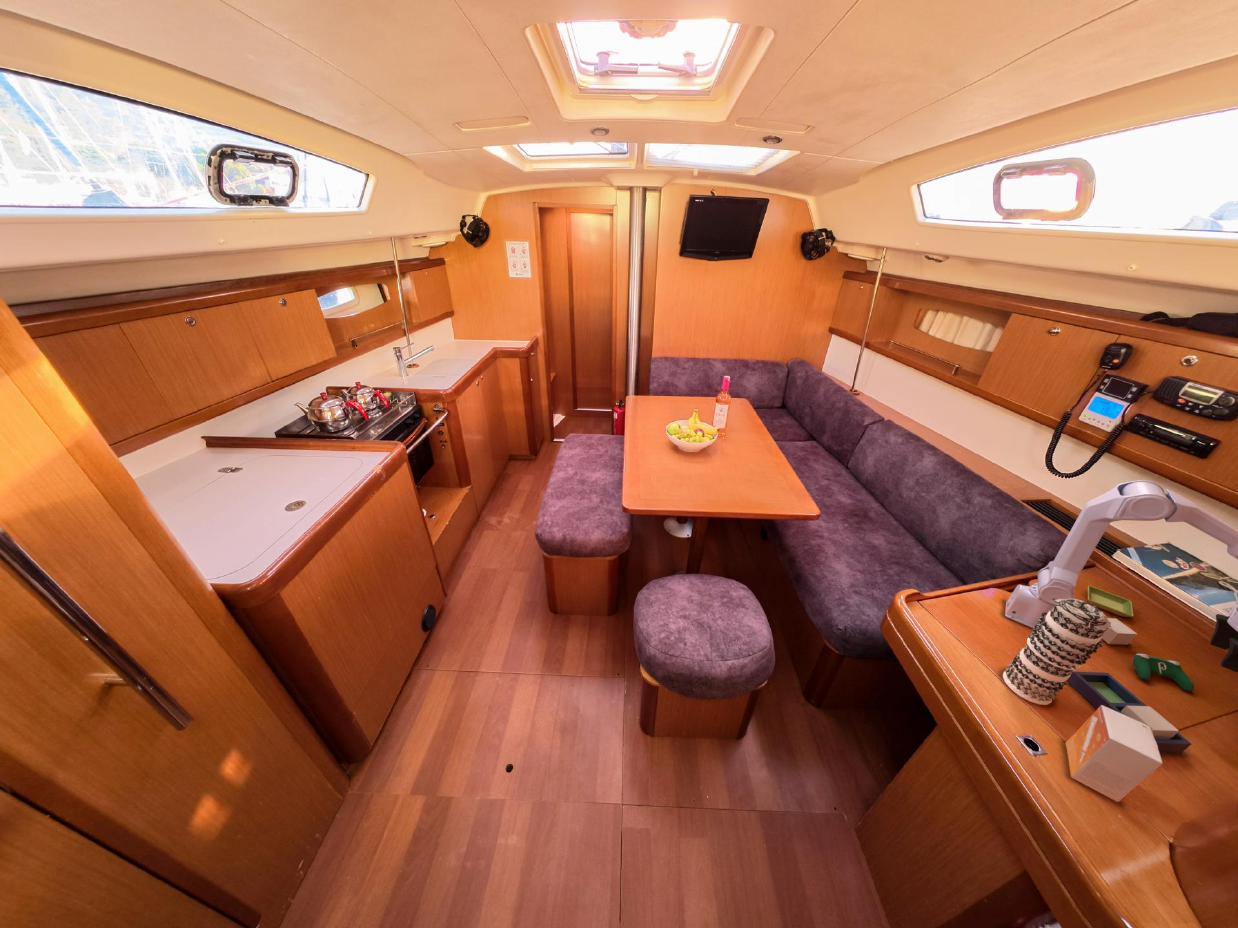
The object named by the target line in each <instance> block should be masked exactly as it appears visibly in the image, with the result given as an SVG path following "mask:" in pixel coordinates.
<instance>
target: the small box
mask: <svg viewBox="0 0 1238 928" xmlns="http://www.w3.org/2000/svg"><path fill="white" fill-rule="evenodd" d="M1065 747H1066V752H1067V759H1068V766H1069V773H1070V778H1071V779H1073V780H1075V781H1077V782H1078V783H1081V784H1083V785H1084V786H1086V787H1088V788H1090V789H1092V790H1094V791H1096V792H1098V793H1099V794H1101V795H1102V796H1105V797H1107V798H1109V799H1110V800H1113V801H1114V802H1117V803H1119V802H1120V801H1122V800H1123V799H1124V798H1125V797H1126V796H1127V795H1128V794H1130V793H1131V792H1132V791H1134V789H1135V788H1137V787H1138V786H1139V785H1140V784H1141V783H1143V782H1144V781H1145V780H1146V779H1147V778H1148V777H1149V776H1150V775H1151V774H1153V773H1154V772H1155V771H1156V770H1157V769H1158V768H1159V767H1161V766H1162V765H1163V764H1164V762H1163V759H1162V756H1161V752H1159V750H1158V746H1157V743H1156V741H1155V739H1154V736H1153V733H1152V731H1151V728H1150V726H1147V725H1145V724H1143V723H1141V722H1139V721H1137V720H1135V719H1132V718H1130V717H1128V716H1126V715H1123V714H1121V713H1119V712H1116V711H1114V710H1112V709H1110V708H1107V707H1105V706H1103V705H1100V707H1099V708H1098V709H1096V710H1094V712H1093V713H1092V714H1091V715H1090V716H1089V717H1088V718H1087V719H1086V720H1085V722H1084V723H1083V724H1082V725H1081V726H1080V727H1079V728H1078V729H1076V731H1075V732H1074V733H1073V734H1072V735H1071V736H1070V737H1069V738H1068V739H1067V741H1066V742H1065Z"/></svg>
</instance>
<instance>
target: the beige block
mask: <svg viewBox="0 0 1238 928" xmlns="http://www.w3.org/2000/svg"><path fill="white" fill-rule="evenodd" d="M1121 713H1123V714H1124V715H1126V716H1128V717H1130V718H1132V719H1135V720H1137V721H1139V722H1141V723H1143V724H1145V725H1147V726H1150V728H1151V731H1152V733H1153V736H1154V739H1171V738H1172V737H1173V736H1174V735H1175V734H1177V733H1180V730H1179V729H1177V727H1175V726H1174V725H1173V724H1172V723H1171V722H1170V721H1168V720H1167V719H1166V718H1165V717H1164V716H1162V715H1161V714H1160V713H1159V712H1158V711H1156V710H1155V709H1154V708H1153V707H1151V706H1149V705H1147V706H1126V707H1125V708H1124V709H1123V710H1122V711H1121Z"/></svg>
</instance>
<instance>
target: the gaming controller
mask: <svg viewBox="0 0 1238 928" xmlns="http://www.w3.org/2000/svg"><path fill="white" fill-rule="evenodd" d="M1132 663H1133V667H1134V669H1135V671H1136V673H1137V674H1138V676H1139V677H1140V679H1141V680H1143V681H1149V680H1150V678H1151V674H1153V675H1154V674H1155V675H1158V676H1162V677H1166V678H1171V679H1172V680H1174V682H1175V683H1176V684H1178V686H1180V688H1182V689H1183V690H1185V691H1190V692H1193V691H1194V690H1195V685H1194V682H1193V681H1192V680H1191V678H1190V677H1189V675H1188V674H1187V673H1186V672H1185V670H1183V668H1182V666H1181V665H1180V664H1181V662H1179V661H1176V660H1170V659H1169V660H1166V659H1163V658H1159V657H1155V656H1152V655H1151V656H1150V655H1149V654H1146V653H1136V654H1134V656H1133V658H1132Z"/></svg>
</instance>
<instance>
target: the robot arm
mask: <svg viewBox="0 0 1238 928" xmlns="http://www.w3.org/2000/svg"><path fill="white" fill-rule="evenodd" d="M1165 490H1166V491H1167V493H1166V492H1165ZM1161 520H1164V521H1165V522H1166V523H1186V524H1188V525H1189V526H1191V527H1193V528H1195V529H1197V530H1199V531H1200V532H1202V533H1204V534H1206V535H1208V536H1209V537H1212V538H1213V539H1215V540H1217V541H1219V542H1221V543H1222V544H1225V546H1226V552H1227V554H1228V555H1229V556H1231V557H1233V558H1234V559H1236V560H1238V529H1237V528H1236V527H1234V526H1233V525H1230V524H1229V523H1227V522H1225V521H1224V520H1222V519H1220V518H1219V517H1218V516H1216V515H1215V514H1213V513H1211V512H1209V511H1208V510H1206V509H1205V508H1203V507H1201V506H1199V505H1198V504H1196V503H1194V502H1193V501H1192V500H1189V499H1187V498H1186V497H1184V496H1182V495H1180V494H1179V493H1177V492H1175V491H1173V490H1170V489H1168V488H1166V489H1164V488H1163V487H1162V486H1161V485H1159V484H1158V483H1156V482H1155V481H1151V480H1145V479H1138V480H1137V479H1136V480H1132V481H1126V482H1121V483H1118V484H1116V485H1115V486H1114V487H1113V488H1112V489H1110V490H1108V491H1106V492H1104V493H1102V494H1100V495H1098V496H1096V497H1094V498H1092V499H1090V500H1089V501H1087V502H1086V503H1085V504H1084V505H1083V508H1082V509H1081V511H1080V513H1079V514H1078V516H1077V518H1076V520H1075V521H1074V524H1073V525H1072V527H1071V529H1070V531H1069V532H1068V534H1067V536H1066V538H1065V540H1064V541H1063V543H1062V545H1061V546H1060V548H1059V551H1058V552H1057V554H1056V555H1055V558H1054V559H1053V560H1051V561H1049V562H1048V564H1047V565H1046V566H1045V567H1043V568H1041V569H1040V570H1038V571H1037V574H1036V577H1037V582H1035V583H1033V584H1032V585H1030V586H1028V585H1023V584H1017V585H1016V587H1014V590H1012V593H1011V594H1010V596H1009V597H1008V599H1007V600H1006V602H1005V612H1004V615H1005V618H1007V619H1009V620H1013V621H1014V622H1017V623H1020V624H1022V625H1024V626H1027V627H1029V628H1031V629H1033V628H1035V627H1034V626H1035V625H1036V624H1038V623H1037V621H1038V620H1040V617H1041V616H1042V615H1041V614H1042V613H1048V612H1049V611H1051V610H1053V607H1054V606H1055V600H1057V599H1076V595H1075V593H1074V591H1075V589H1076V587H1077V583H1078V579H1079V576H1080V574H1081V572H1082V570H1083V569H1084V568H1085V566H1086V564H1087V562H1088V560H1089V559H1090V557H1091V556H1092V554H1093V552H1094V550H1095V549H1096V548H1097V545H1098V544H1099V542H1100V540H1101V539H1102V537H1103V535H1104V534H1105V533H1106V531H1107V529H1108V528H1109V526H1110V524H1111V523H1114V522H1119V521H1139V522H1153V521H1154V522H1155V521H1161ZM1045 618H1046V616H1045ZM1209 644H1210V645H1211V646H1213V647H1215V648H1218V649H1221V650H1225V651H1226V650H1227V653H1226V654H1225V656H1224V657H1223V658H1222V659H1221V662H1220V666H1221V668H1224V669H1227V670H1230V671H1232V672H1235V673H1238V607H1237V606H1233V607H1232V608H1231V610H1229V612H1228V616H1227V615H1224V614H1220V613H1217V614H1216V615H1215V628H1214V631H1213V634H1212V636H1211V638H1210V641H1209Z"/></svg>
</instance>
